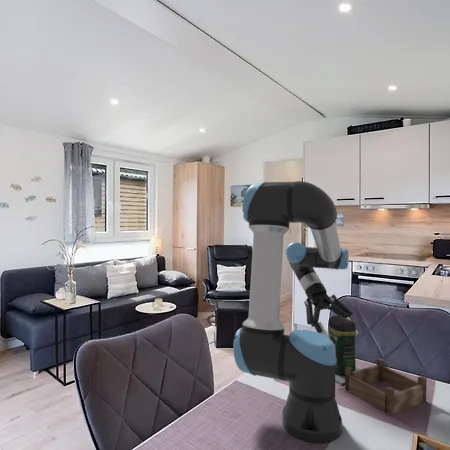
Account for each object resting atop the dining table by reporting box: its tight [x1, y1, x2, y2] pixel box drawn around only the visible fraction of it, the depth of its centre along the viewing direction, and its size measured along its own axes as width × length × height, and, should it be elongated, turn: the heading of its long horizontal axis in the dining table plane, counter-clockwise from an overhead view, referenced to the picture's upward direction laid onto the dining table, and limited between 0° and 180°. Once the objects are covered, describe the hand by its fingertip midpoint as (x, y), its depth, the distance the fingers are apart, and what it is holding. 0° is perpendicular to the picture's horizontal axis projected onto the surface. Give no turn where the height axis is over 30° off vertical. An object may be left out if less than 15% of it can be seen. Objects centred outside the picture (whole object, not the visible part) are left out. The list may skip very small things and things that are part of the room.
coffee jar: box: [327, 315, 357, 375], centre depth 121 cm, size 10×8×19 cm
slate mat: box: [335, 366, 361, 386], centre depth 121 cm, size 14×14×1 cm
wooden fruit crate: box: [344, 357, 428, 416], centre depth 105 cm, size 16×16×7 cm
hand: (341, 338), depth 121 cm, fingers open, 13 cm apart
